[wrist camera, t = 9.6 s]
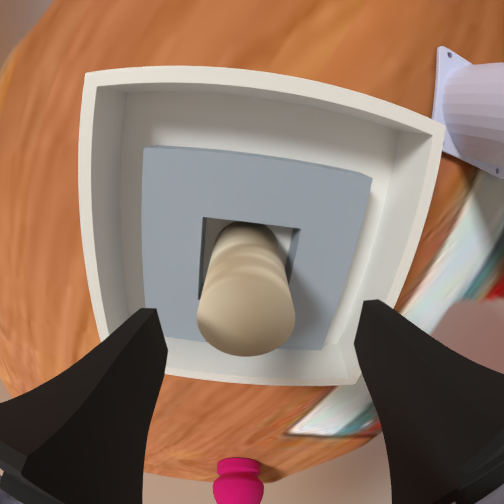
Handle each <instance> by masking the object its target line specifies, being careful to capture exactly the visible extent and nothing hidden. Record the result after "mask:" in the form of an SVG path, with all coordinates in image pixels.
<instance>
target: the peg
mask: <svg viewBox="0 0 504 504" xmlns="http://www.w3.org/2000/svg"><path fill="white" fill-rule="evenodd" d="M197 325H198V328H199V331H200V333H201V335H202V336H203V337H204V339H205V340H206V341H207V342H208V343H209V344H210V345H211V346H213V347H214V348H216V349H218V350H220V351H221V352H224V353H227V354H230V355H234V356H242V357H251V356H258V355H263V354H266V353H269V352H271V351H273V350H275V349H277V348H278V347H280V346H281V345H282V344H283V343H284V342H286V340H287V339H288V338H289V337H290V335H291V333H292V331H293V329H294V326H295V311H294V307H293V303H292V298H291V294H290V290H289V286H288V281H287V277H286V273H285V269H284V265H283V261H282V257H281V252H280V248H279V244H278V241H277V238H276V236H275V234H274V233H273V232H272V230H271V229H270V228H268V227H267V226H266V225H264V224H260V223H252V222H244V221H235V222H233V223H231V224H229V225H227V226H226V227H225V228H223V229H222V230H221V232H220V233H219V234H218V236H217V238H216V241H215V244H214V248H213V252H212V256H211V259H210V263H209V267H208V271H207V275H206V279H205V283H204V287H203V291H202V295H201V299H200V303H199V307H198V311H197Z"/></svg>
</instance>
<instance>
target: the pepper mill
mask: <svg viewBox="0 0 504 504" xmlns="http://www.w3.org/2000/svg"><path fill="white" fill-rule="evenodd" d="M217 473H218V474H219V475H220V477H219V478H217V479H216V480H215V481H214V483H213V494H214V497H215V500H216V502H217V504H260V502H261V500H262V497H263V493H264V485H263V483H262V482H261V480H259V479H258V478H257V476H258V475H259V474H260V465H259V463H258V462H257V461H255V460H252V459H247V458H227V459H223V460H221V461H219V462H218V464H217Z"/></svg>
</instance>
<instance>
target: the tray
mask: <svg viewBox="0 0 504 504" xmlns="http://www.w3.org/2000/svg"><path fill="white" fill-rule="evenodd" d="M445 129H446V126H445V125H443V124H441V123H439V122H437V121H434V120H432V119H430V118H428V117H425V116H423V115H421V114H418V113H416V112H413V111H411V110H408V109H406V108H403V107H401V106H398V105H395V104H392V103H390V102H387V101H384V100H381V99H378V98H375V97H372V96H369V95H366V94H362V93H359V92H356V91H352V90H349V89H345V88H341V87H337V86H334V85H330V84H325V83H321V82H317V81H312V80H308V79H303V78H298V77H292V76H287V75H281V74H275V73H268V72H261V71H253V70H244V69H234V68H222V67H205V66H149V67H132V68H121V69H111V70H103V71H95V72H88V73H86V74H85V81H84V88H83V96H82V105H81V116H80V129H79V152H78V185H79V208H80V222H81V233H82V243H83V251H84V259H85V266H86V273H87V279H88V285H89V291H90V296H91V301H92V306H93V311H94V315H95V320H96V324H97V328H98V332H99V336H100V340H101V342H102V341H104V340H105V339H106V338H107V337H108V336H109V335H110V334H111V333H113V332H114V331H115V330H116V329H117V328H118V327H119V326H120V325H122V324H123V323H124V322H125V321H126V320H127V319H128V318H129V317H130V316H132V315H133V314H134V313H135V312H136V311H138V310H139V309H140V308H146V306H145V294H144V280H143V262H142V226H141V205H142V170H143V152H144V148H145V147H150V146H154V145H163V146H181V147H196V148H208V149H219V150H229V151H238V152H246V153H254V154H262V155H269V156H276V157H282V158H289V159H295V160H301V161H307V162H312V163H317V164H323V165H328V166H333V167H338V168H343V169H347V170H352V171H356V172H360V173H362V174H364V175H367V176H369V177H371V178H373V180H372V184H371V189H370V193H369V197H368V202H367V206H366V210H365V214H364V218H363V222H362V226H361V229H360V233H359V237H358V240H357V244H356V248H355V251H354V255H353V258H352V261H351V265H350V268H349V271H348V274H347V278H346V281H345V284H344V287H343V290H342V293H341V296H340V299H339V302H338V305H337V308H336V311H335V314H334V317H333V319H332V322H331V325H330V328H329V330H328V333H327V336H326V338H325V341H324V344H323V346H322V349H321V350H295V349H275V350H273V351H271V352H269V353H266V354H263V355H258V356H251V357H242V356H234V355H230V354H227V353H224V352H221V351H220V350H218V349H216V348H214V347H213V346H211V345H210V344H209V343H208V342H202V341H194V340H187V339H180V338H173V337H166V336H164V338H165V341H166V345H167V348H168V356H167V362H166V368H165V374H169V375H175V376H182V377H189V378H196V379H204V380H212V381H221V382H232V383H244V384H258V385H280V386H336V385H355V384H356V382H357V380H358V378H359V377H360V375H361V373H362V372H361V369H360V367H359V363H358V359H357V356H356V351H355V347H354V340H355V336H356V332H357V328H358V323H359V319H360V314H361V310H362V305H363V301H365V300H376V299H379V300H381V301H382V302H384V303H385V304H387V305H388V306H390V307H391V308H392V309H394V306H395V304H396V302H397V299H398V297H399V294H400V292H401V290H402V287H403V285H404V282H405V279H406V277H407V274H408V272H409V269H410V266H411V263H412V261H413V258H414V255H415V252H416V249H417V246H418V243H419V240H420V237H421V234H422V230H423V227H424V224H425V220H426V217H427V213H428V210H429V206H430V202H431V199H432V195H433V191H434V186H435V182H436V178H437V173H438V169H439V164H440V159H441V153H442V148H443V142H444V136H445ZM233 222H235V220H226V219H218V218H208V217H207V221H206V233H205V247H204V262H203V280H202V283H205V279H206V275H207V271H208V267H209V263H210V259H211V256H212V252H213V248H214V244H215V241H216V238H217V236H218V234H219V233H220V232H221V230H222V229H223V228H225V227H226V226H227V225H229V224H231V223H233ZM264 225H266V226H267V227H268V228H270V229H271V230H272V232H273V233H274V234H275V236H276V238H277V241H278V244H279V248H280V252H281V257H282V261H283V265H284V269H285V266H286V261H287V256H288V251H289V246H290V241H291V236H292V231H293V228H292V227H284V226H276V225H268V224H264Z"/></svg>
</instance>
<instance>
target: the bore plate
mask: <svg viewBox="0 0 504 504" xmlns="http://www.w3.org/2000/svg"><path fill="white" fill-rule="evenodd" d="M372 180H373V178H371V177H369V176H367V175H364V174H362V173H360V172H356V171H352V170H347V169H343V168H338V167H333V166H328V165H323V164H317V163H312V162H307V161H301V160H295V159H289V158H282V157H276V156H269V155H262V154H254V153H246V152H238V151H229V150H219V149H208V148H196V147H181V146H163V145H154V146H150V147H145V148H144V152H143V170H142V205H141V226H142V262H143V280H144V294H145V306H146V308H157V312H158V316H159V320H160V324H161V327H162V331H163V334H164V336H166V337H173V338H180V339H187V340H194V341H202V342H207V341H206V340H205V339H204V337H203V336H202V335H201V333H200V331H199V328H198V325H197V311H198V307H199V303H200V299H201V295H202V291H203V287H204V283H202V280H203V262H204V247H205V233H206V221H207V217H208V218H218V219H226V220H235V221H244V222H252V223H260V224H268V225H276V226H284V227H292V228H293V231H292V236H291V241H290V246H289V251H288V256H287V261H286V266H285V273H286V277H287V281H288V286H289V290H290V294H291V298H292V303H293V307H294V311H295V326H294V329H293V331H292V333H291V335H290V337H289V338H288V339H287V340H286V342H284V343H283V344H282V345H281V346H280V347H278V348H277V349H295V350H321V349H322V346H323V344H324V341H325V338H326V336H327V333H328V330H329V328H330V325H331V322H332V319H333V317H334V314H335V311H336V308H337V305H338V302H339V299H340V296H341V293H342V290H343V287H344V284H345V281H346V278H347V274H348V271H349V268H350V265H351V261H352V258H353V255H354V251H355V248H356V244H357V240H358V237H359V233H360V229H361V226H362V222H363V218H364V214H365V210H366V206H367V202H368V197H369V193H370V189H371V184H372Z"/></svg>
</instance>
